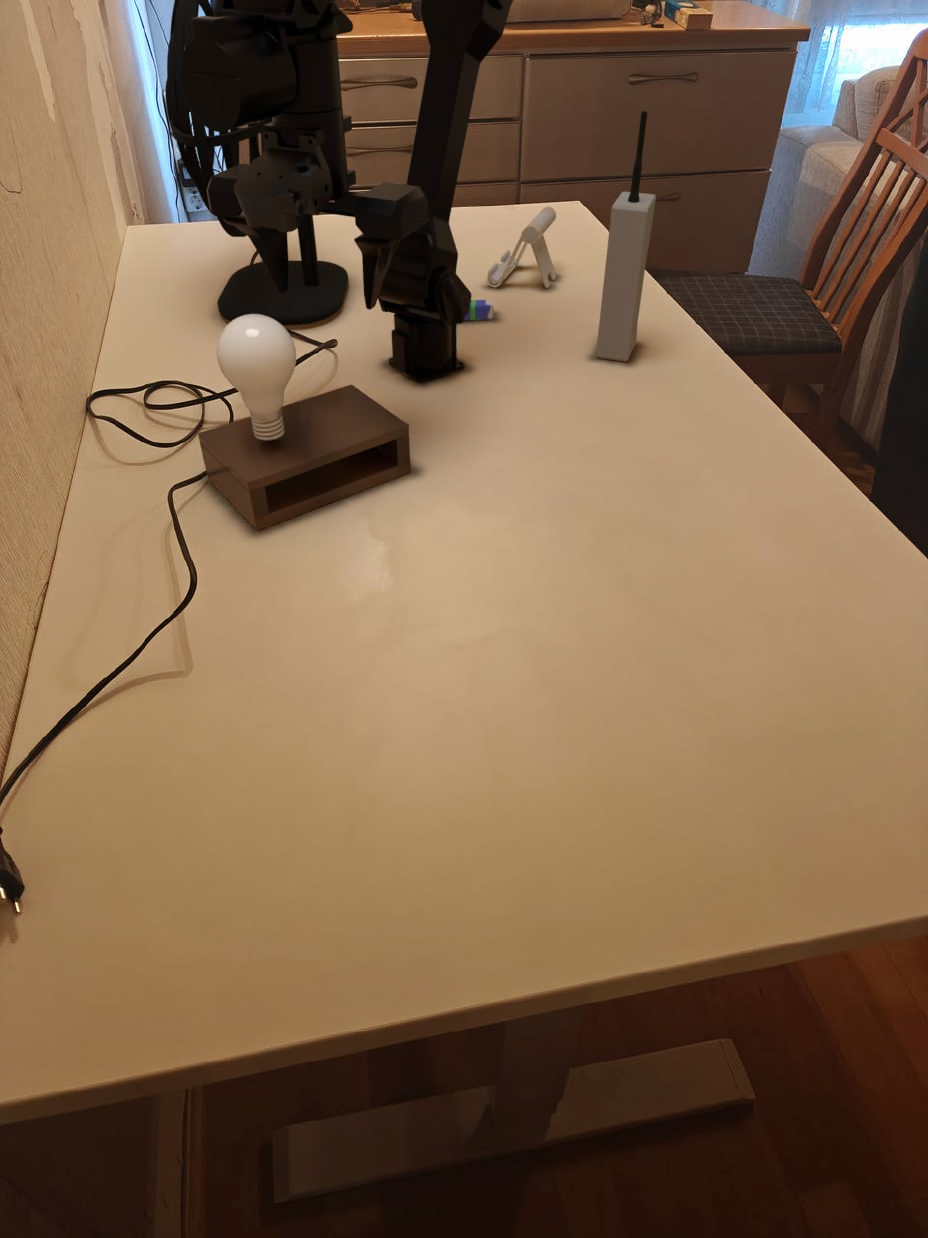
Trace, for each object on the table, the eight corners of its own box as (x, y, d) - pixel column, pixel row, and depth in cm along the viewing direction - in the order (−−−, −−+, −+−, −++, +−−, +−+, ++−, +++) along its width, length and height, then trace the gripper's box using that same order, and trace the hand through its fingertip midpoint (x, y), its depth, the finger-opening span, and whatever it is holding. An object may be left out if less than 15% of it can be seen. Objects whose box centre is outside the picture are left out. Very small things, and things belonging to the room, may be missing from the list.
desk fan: (233, 260, 124) (180, -48, 101) (356, 261, 124) (331, -48, 101) (187, 341, 104) (107, -23, 80) (334, 341, 104) (297, -22, 80)
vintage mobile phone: (635, 345, 103) (668, 104, 86) (627, 363, 99) (660, 115, 83) (604, 341, 104) (631, 102, 87) (595, 358, 100) (621, 112, 84)
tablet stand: (506, 265, 123) (508, 202, 117) (560, 272, 121) (565, 208, 115) (486, 286, 117) (488, 221, 111) (543, 294, 115) (547, 228, 109)
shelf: (355, 429, 88) (351, 383, 85) (411, 472, 82) (409, 424, 79) (208, 480, 81) (197, 432, 77) (257, 531, 75) (247, 482, 71)
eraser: (493, 320, 108) (494, 304, 107) (446, 322, 108) (445, 306, 106) (491, 313, 110) (491, 297, 109) (443, 316, 109) (443, 300, 108)
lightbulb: (269, 465, 73) (248, 339, 66) (218, 442, 76) (193, 319, 69) (321, 435, 77) (307, 313, 70) (271, 415, 80) (252, 295, 73)
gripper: (146, 116, 67) (188, 315, 77) (361, 140, 61) (375, 352, 71) (230, 89, 74) (259, 273, 85) (428, 108, 69) (432, 303, 79)
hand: (326, 299), depth 80 cm, fingers open, 9 cm apart
